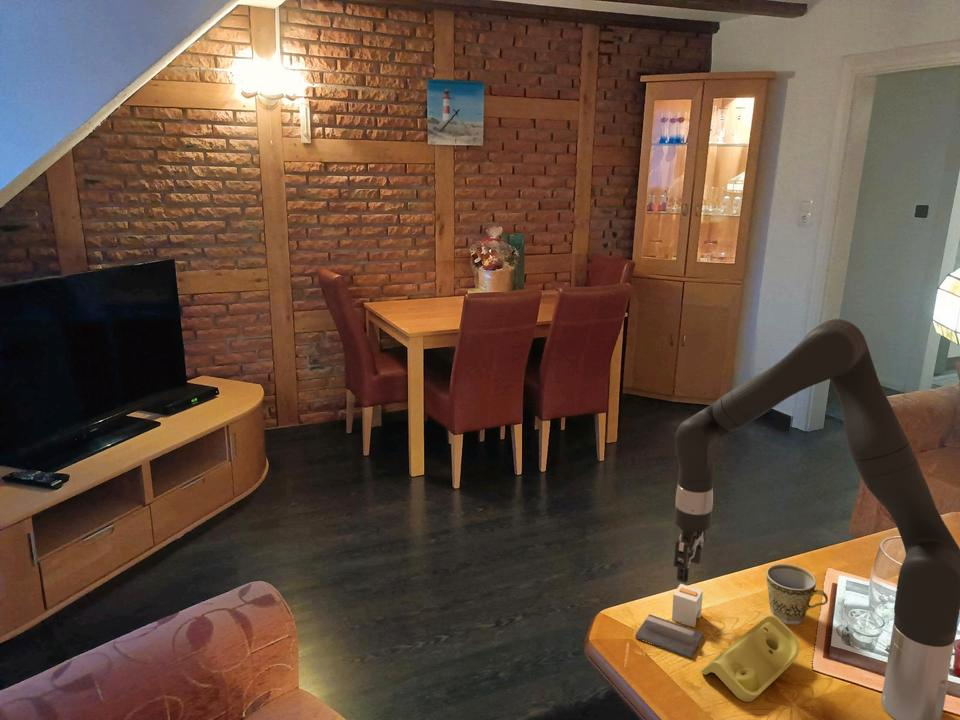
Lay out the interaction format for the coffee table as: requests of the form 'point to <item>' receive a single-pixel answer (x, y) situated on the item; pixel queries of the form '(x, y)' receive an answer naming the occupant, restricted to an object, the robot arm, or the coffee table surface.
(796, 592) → the ceramic cup
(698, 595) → the block
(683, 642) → the panel
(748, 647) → the plastic component
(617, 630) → the coffee table surface
